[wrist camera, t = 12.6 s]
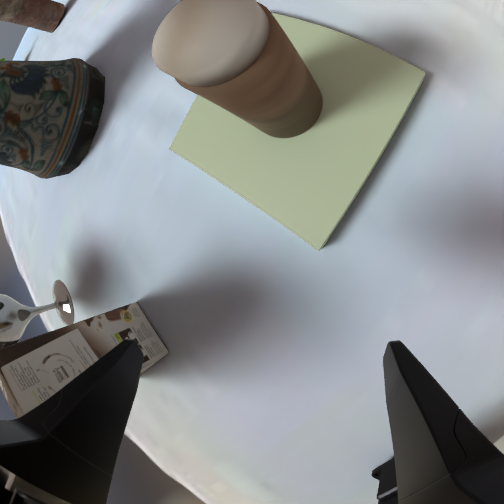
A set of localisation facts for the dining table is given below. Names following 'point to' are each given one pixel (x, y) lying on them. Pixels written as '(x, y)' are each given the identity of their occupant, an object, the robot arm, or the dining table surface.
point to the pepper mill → (239, 63)
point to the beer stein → (48, 114)
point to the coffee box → (71, 355)
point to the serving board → (308, 134)
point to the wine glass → (31, 314)
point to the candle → (32, 13)
